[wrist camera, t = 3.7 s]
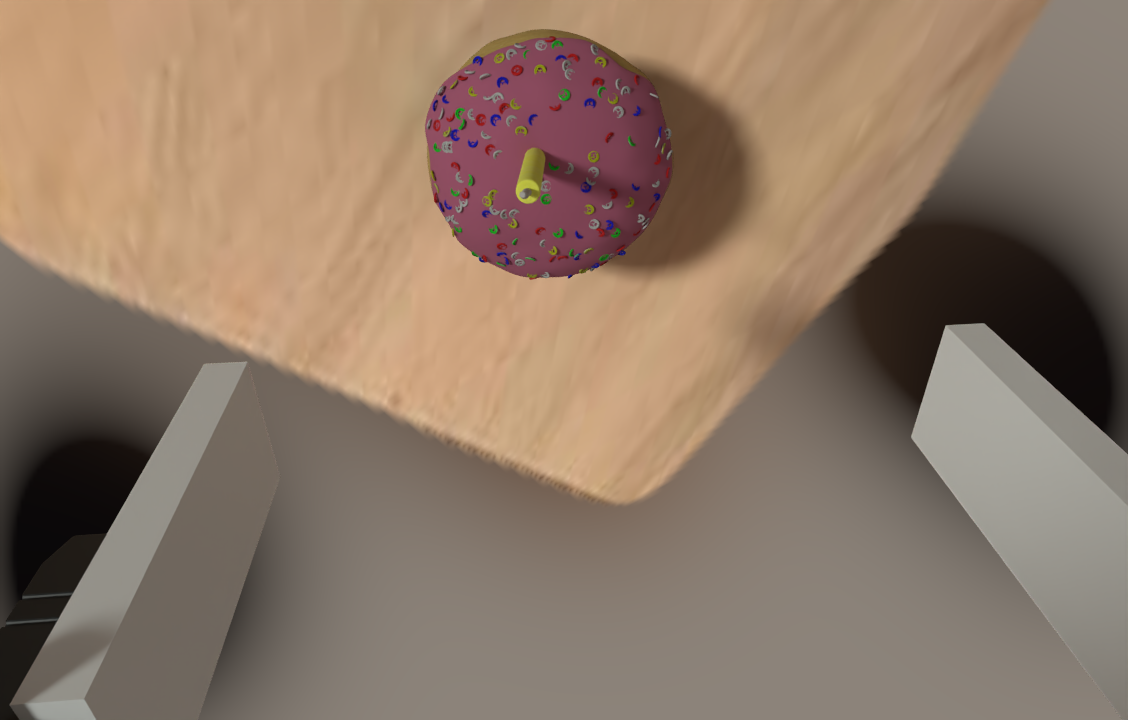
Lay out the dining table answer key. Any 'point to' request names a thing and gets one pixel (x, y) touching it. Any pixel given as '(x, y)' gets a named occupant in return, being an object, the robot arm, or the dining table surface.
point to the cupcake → (547, 153)
